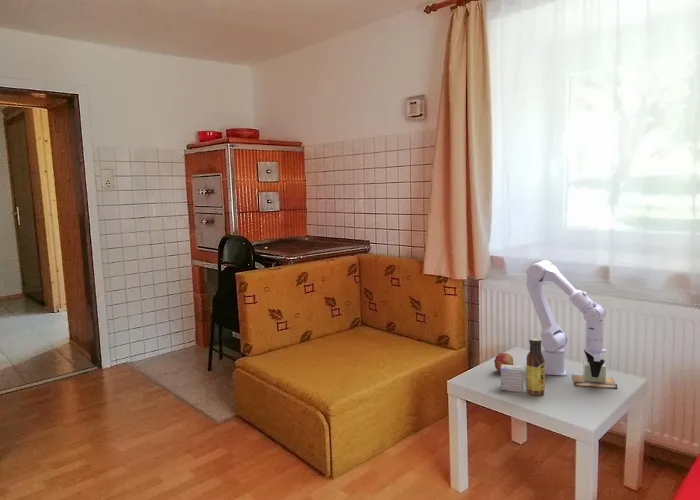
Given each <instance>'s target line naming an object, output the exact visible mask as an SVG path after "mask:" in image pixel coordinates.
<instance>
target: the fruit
mask: <svg viewBox="0 0 700 500" xmlns="http://www.w3.org/2000/svg"><path fill="white" fill-rule="evenodd" d="M493 362H494V367H495V369H496V370H497V371H498V372H499V373H501V365H502V364H503V365H515V364H514V358H513V356H512V355H511V354H510V353H507V352H500V353H498V354H496V356H495V358H494V360H493Z"/></svg>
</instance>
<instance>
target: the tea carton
mask: <svg viewBox="0 0 700 500" xmlns="http://www.w3.org/2000/svg"><path fill="white" fill-rule="evenodd" d="M582 372H583V373H582V375H583V377H584V380H585V381H591V382H605V383H606V377H607V374H606V373H607V367H606V364H605V363H604V364H603V365H602V367H601V370H600V374H599V377H592V375H591V368H590V364H589V362H587V361H583V371H582Z"/></svg>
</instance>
